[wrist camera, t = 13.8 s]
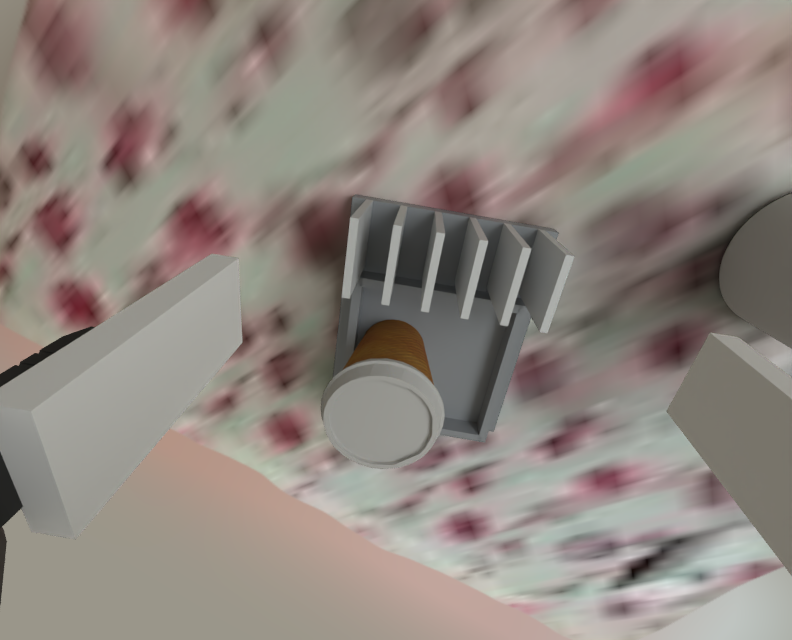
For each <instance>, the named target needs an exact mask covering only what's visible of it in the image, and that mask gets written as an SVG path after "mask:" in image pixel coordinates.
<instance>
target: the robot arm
mask: <svg viewBox="0 0 792 640" xmlns="http://www.w3.org/2000/svg"><path fill="white" fill-rule="evenodd" d="M241 344H242V323H241V300H240V278H239V258H235V257H229V256H223V255H216V254H211V255H209V256H207V257H206V258H204V259H203V260H201V261H200V262H198V263H196V264H195V265H193V266H192V267H190V268H188V269H187V270H185V271H184V272H182V273H181V274H179V275H177V276H176V277H174V278H173V279H171V280H169V281H168V282H166V283H165V284H163V285H162V286H160V287H158V288H157V289H155V290H154V291H152V292H150V293H149V294H147V295H146V296H144V297H142V298H141V299H139V300H138V301H136V302H135V303H133V304H131V305H130V306H128V307H127V308H125V309H123V310H122V311H120V312H119V313H117V314H116V315H114V316H112V317H111V318H109V319H108V320H106V321H104V322H103V323H101V324H100V325H98V326H97V327H89V328H86V329H83V330H80V331H77V332H74V333H71V334H69V335H66V336H63V337H61V338H59V339H58V340H56V341H54V342H53V343H51V344H49V345H48V346H46V347H44V348H43V349H41V350H40V352H39V354H37V353H34V354H33V355H31V356H30V357H28V358H26V359H25V360H23V361H21V362H20V365H19V366H17V365H15V366H13V367H11V368H10V369H8V370H6V371H5V372H3V373H1V374H0V603H1V593H2V583H3V573H4V563H5V552H6V542H7V541H6V537H5V534H4V530H3V528H2V526H3V525H4V524H5V523H6V522H7V521H8V520H9V519H10V518H11V517H13V515H15V514H16V513H17V512H18V510H20V509H22V511H23V513H24V516H25V518H26V521H27V523H28V525H29V528H30V530H31V532H35V533H40V534H46V535H52V536H58V537H63V538H69V539H77V537H78V536H79V535H80V534H81V533H82V532H83V530H84V529H85V528H86V527H87V525H88V524H89V523H90V522H91V521H92V520H93V519H94V517H95V516H96V515H97V514H98V513H99V511H100V510H101V509H102V508H103V507H104V506H105V504H106V503H107V502H108V501H109V500H110V498H111V497H112V496H113V495H114V494H115V493H116V491H117V490H118V489H119V488H120V487H121V485H122V484H123V483H124V482H125V481H126V480H127V478H128V477H129V476H130V475H131V474H132V472H133V471H134V470H135V469H136V468H137V467H138V465H139V464H140V463H141V462H142V461H143V459H144V458H145V457H146V456H147V455H148V453H149V452H150V451H151V450H152V449H153V448H154V446H155V445H156V444H157V443H158V441H159V440H160V439H161V438H162V437H163V436H164V435H165V433H166V432H167V431H168V430H169V429H170V427H171V426H172V425H173V424H174V423H175V422H176V420H177V419H178V418H179V417H180V416H181V414H182V413H183V412H184V411H185V410H186V409H187V407H188V406H189V405H190V404H191V403H192V401H193V400H194V399H195V398H196V397H197V396H198V394H199V393H200V392H201V391H202V390H203V388H204V387H205V386H206V385H207V384H208V383H209V381H210V380H211V379H212V378H213V377H214V375H215V374H216V373H217V372H218V371H219V370H220V368H221V367H222V366H223V365H224V364H225V362H226V361H227V360H228V359H229V358H230V357H231V355H232V354H233V353H234V352H235V351H236V349H237V348H238V347H239V346H240V345H241ZM667 413H668V414H669V415H670V417H671V418H672V419H673V420H674V422H675V423H676V424H677V426H678V427H679V428H680V430H681V431H682V432H683V434H684V435H685V436H686V438H687V439H688V440H689V441H690V443H691V444H692V445H693V447H694V448H695V449H696V451H697V452H698V453H699V455H700V456H701V457H702V459H703V460H704V461H705V462H706V464H707V465H708V466H709V468H710V469H711V470H712V472H713V473H714V474H715V476H716V477H717V478H718V480H719V481H720V482H721V483H722V485H723V486H724V487H725V489H726V490H727V491H728V493H729V494H730V495H731V497H732V498H733V499H734V501H735V502H736V503H737V505H738V506H739V507H740V508H741V510H742V511H743V512H744V514H745V515H746V516H747V518H748V519H749V520H750V522H751V523H752V524H753V526H754V527H755V528H756V529H757V531H758V532H759V533H760V535H761V536H762V537H763V539H764V540H765V541H766V543H767V544H768V545H769V547H770V548H771V549H772V550H773V552H774V553H775V554H776V556H777V557H778V558H779V560H780V561H781V562H782V564H783V565H784V566H785V568H786V569H787V570H788V572H789V573H790V574H791V575H792V377H791V376H789V375H788V374H787V373H785V372H784V371H783V370H781V369H780V368H779V367H777V366H776V365H775V364H773V363H772V362H771V361H769V360H768V359H767V358H765V357H764V356H763V355H761V354H760V353H759V352H757V351H756V350H755V349H753V348H752V347H751V346H749V345H748V344H747V343H745V342H744V341H743V340H741V339H740V338H739V337H735V336H729V335H722V334H716V333H709V335H708V337H707V339H706V341H705V343H704V344H703V346H702V348H701V350H700V352H699V353H698V355H697V357H696V359H695V361H694V362H693V364H692V366H691V368H690V370H689V372H688V373H687V375H686V377H685V379H684V381H683V382H682V384H681V386H680V388H679V390H678V391H677V393H676V395H675V397H674V399H673V401H672V402H671V404H670V406H669V408H668V410H667Z"/></svg>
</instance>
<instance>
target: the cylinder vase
mask: <svg viewBox="0 0 792 640" xmlns="http://www.w3.org/2000/svg"><path fill="white" fill-rule="evenodd" d="M719 284H720V290H721V293H722V296H723V298H724V300H725V302H726V304H727V305H728V307H729V308H730V309H731V310H732V311H733V312H734V313H735V314H736V315H738V316H739V317H740V318H742V319H744V320H745V321H747V322H748V323H750V324H752V325H753V326H755V327H757V328H758V329H760V330H762V331H763V332H765V333H767V334H768V335H770V336H772V337H773V338H775V339H776V340H778V341H780V342H781V343H783V344H785V345H786V346H788V347H790V348H791V349H792V193H791V194H789V195H786V196H784V197H782V198H780V199H778V200H776V201H774V202H772V203H770V204H769V205H767V206H766V207H764V208H763V209H761V210H760V211H759V212H757V213H756V214H755V215H754V216H752V217H751V218H750V219H749V220H748V221H747V222H746V223H745V224H744V225H743V226H742V227H741V228H740V229H739V231H738V232H737V233H736V235H735V236H734V237H733V239H732V240H731V242H730V244H729V245H728V247H727V249H726V251H725V254H724V256H723V259H722V262H721V266H720V272H719Z"/></svg>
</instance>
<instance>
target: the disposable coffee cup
mask: <svg viewBox="0 0 792 640" xmlns="http://www.w3.org/2000/svg"><path fill="white" fill-rule="evenodd" d="M321 416H322V420H323V424H324V428H325V431H326V435H327V437H328V438H329V440H330V441H331V443H332V445H333V446H334V447H335V448H336V449H337V450H338V451H339V452H340V453H341V454H342V455H343V456H345V457H346V458H348V459H350V460H352V461H354V462H356V463H357V464H360V465H364V466H367V467H370V468H378V469H388V468H399V467H403V466H406V465H409V464H411V463H413V462H415V461H417V460H419V459H420V458H421V457H423V456H424V455H425V454H426V453H427V452H428V451H429V450H430V449H431V447H432V445H433V444H434V442H435V441H436V439H437V438H438V436H439V435H440V432H441V430H442V427H443V423H444V417H445V413H444V405H443V401H442V398H441V396H440V394H439V392H438V390H437V388H436V387H435V386H434V383H433V379H432V375H431V371H430V368H429V364H428V359H427V355H426V351H425V347H424V342H423V339H422V337H421V335H420V334H419V332H418V331H417V330H416V329H415V328H414V327H413V326H411V325H410V324H408V323H406V322H403V321H400V320H384V321H381V322H378V323H376V324H374V325H373V326H371V327H370V328H369V329H368V330H367V331H366V333H365V335H364V337H363V338H362V340H361V341H360V343H359V344H358V346H357V348H356V349H355V351H354V352H353V354H352V356H351V357H350V358H349V360H348V362H347V363H346V365H345V367H344V368H343V370H342V371H340V372H339V373H338V374H337V375H336V376H335V377H334V378H333V379H332V380H331V381H330V382H329V383H328V385H327V387H326V389H325V391H324V393H323V396H322V399H321Z"/></svg>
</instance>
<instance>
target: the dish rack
mask: <svg viewBox="0 0 792 640" xmlns="http://www.w3.org/2000/svg"><path fill="white" fill-rule="evenodd" d="M558 234H559V233H558V232H557V231H556V230H555V229H552V228H546V227H540V226H534V225H529V224H523V223H517V222H511V221H506V220H500V219H494V218H488V217H483V216H477V215H471V214H465V213H460V212H454V211H448V210H442V209H437V208H431V207H425V206H419V205H414V204H408V203H402V202H396V201H391V200H385V199H379V198H373V197H368V196H362V195H356V194H355V195H354V196H353V197H352V206H351V215H350V224H349V234H348V243H347V252H346V261H345V270H344V279H343V289H342V298H341V307H340V317H339V326H338V335H337V344H336V353H335V362H334V372H333V378H334V377H335V376H336V375H337V374H338V373H339V372H340V371H342V370H343V368H344V367H345V365H346V363H347V362H348V360H349V358H350V357H351V356H352V354H353V352H354V351H355V349H356V348H357V346H358V344H359V343H360V341H361V340H362V338H363V337H364V335H365V333H366V331H367V330H368V329H369V328H370V327H371V326H373V325H374V324H376V323H378V322H381V321H384V320H400V321H403V322H406V323H408V324H410V325H411V326H413V327H414V328H415V329H416V330H417V331H418V332H419V334H420V335H421V337H422V339H423V342H424V347H425V351H426V355H427V359H428V364H429V368H430V371H431V375H432V379H433V383H434V386H435V387H436V388H437V390H438V392H439V394H440V396H441V398H442V401H443V405H444V413H445V417H444V423H443V427H442V430H441V432H440V435H445V436H450V437H456V438H462V439H468V440H473V441H479V442H485V440H486V437H487V434H488V431H492V432H494V429H495V426H496V423H497V420H498V416H499V413H500V410H501V407H502V404H503V401H504V398H505V395H506V392H507V389H508V386H509V383H510V380H511V377H512V374H513V371H514V368H515V365H516V362H517V359H518V356H519V352H520V349H521V346H522V343H523V340H524V337H525V334H526V331H527V328H528V325H529V322H530V319H531V317H532V319H533V321H534V323H535V324H536V326H537V328H538V330H539V332H543V333H548V330H549V328H550V325H551V322H552V319H553V316H554V313H555V311H556V308H557V305H558V302H559V299H560V296H561V294H562V291H563V288H564V285H565V282H566V279H567V277H568V274H569V271H570V268H571V265H572V262H573V260H574V257H575V256H574V255H573V254H571V253H570V252H569V251H568V250H567V249H566V248H565V247H563V246H562V245H561V244H560V243H559V242H558V241H557V237H558Z"/></svg>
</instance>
